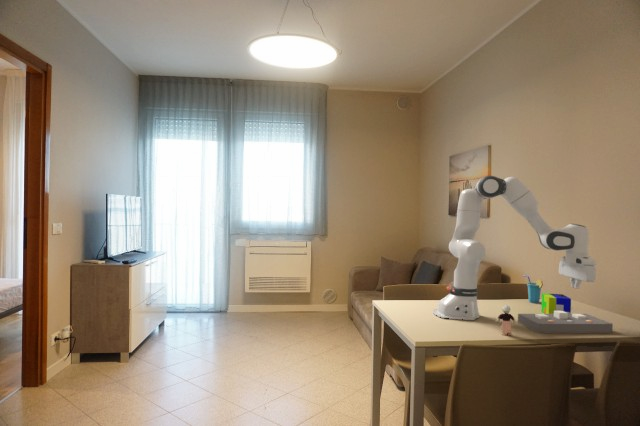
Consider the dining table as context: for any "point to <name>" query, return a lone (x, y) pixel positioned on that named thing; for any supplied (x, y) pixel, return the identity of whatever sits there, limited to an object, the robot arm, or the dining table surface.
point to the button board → (565, 324)
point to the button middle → (561, 314)
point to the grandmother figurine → (506, 320)
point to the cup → (534, 290)
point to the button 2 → (579, 316)
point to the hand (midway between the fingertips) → (575, 287)
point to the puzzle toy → (555, 303)
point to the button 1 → (542, 316)
